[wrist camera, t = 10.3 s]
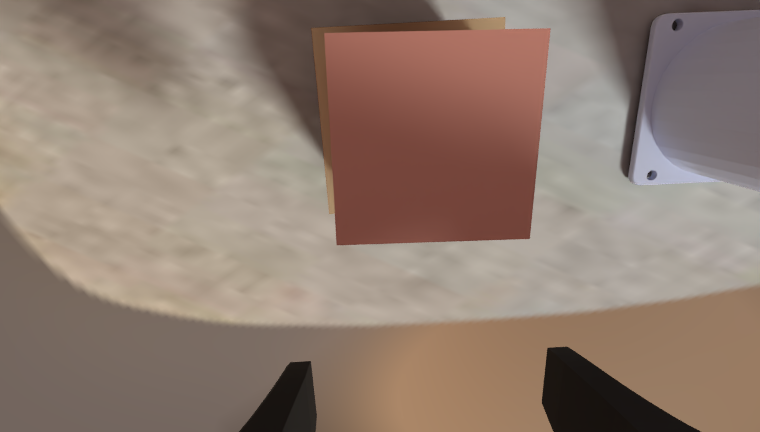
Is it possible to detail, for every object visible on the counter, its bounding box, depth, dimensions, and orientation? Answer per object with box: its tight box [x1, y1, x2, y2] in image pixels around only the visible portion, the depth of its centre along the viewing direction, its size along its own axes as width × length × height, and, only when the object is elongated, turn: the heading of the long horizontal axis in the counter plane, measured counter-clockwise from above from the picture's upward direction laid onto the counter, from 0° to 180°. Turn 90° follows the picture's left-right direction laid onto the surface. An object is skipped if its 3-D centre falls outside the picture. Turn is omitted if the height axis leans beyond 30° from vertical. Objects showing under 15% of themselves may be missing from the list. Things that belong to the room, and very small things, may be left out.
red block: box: [324, 28, 550, 245], centre depth 11 cm, size 4×4×5 cm
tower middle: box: [311, 17, 505, 214], centre depth 15 cm, size 6×6×4 cm
